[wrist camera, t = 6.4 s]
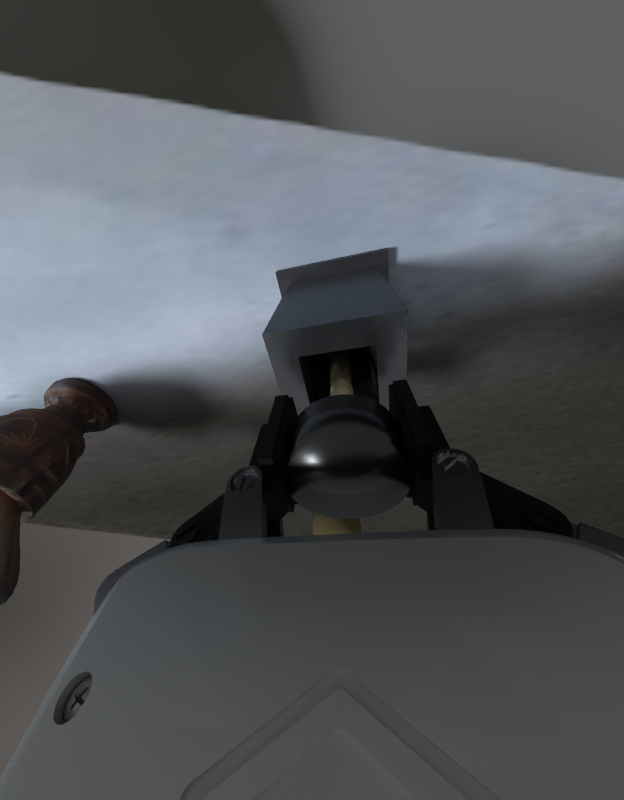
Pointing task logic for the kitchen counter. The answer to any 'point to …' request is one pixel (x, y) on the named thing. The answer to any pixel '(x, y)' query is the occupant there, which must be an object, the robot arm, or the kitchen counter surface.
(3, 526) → the mortar and pestle
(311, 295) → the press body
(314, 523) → the cork
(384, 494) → the plunger
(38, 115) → the kitchen counter surface
